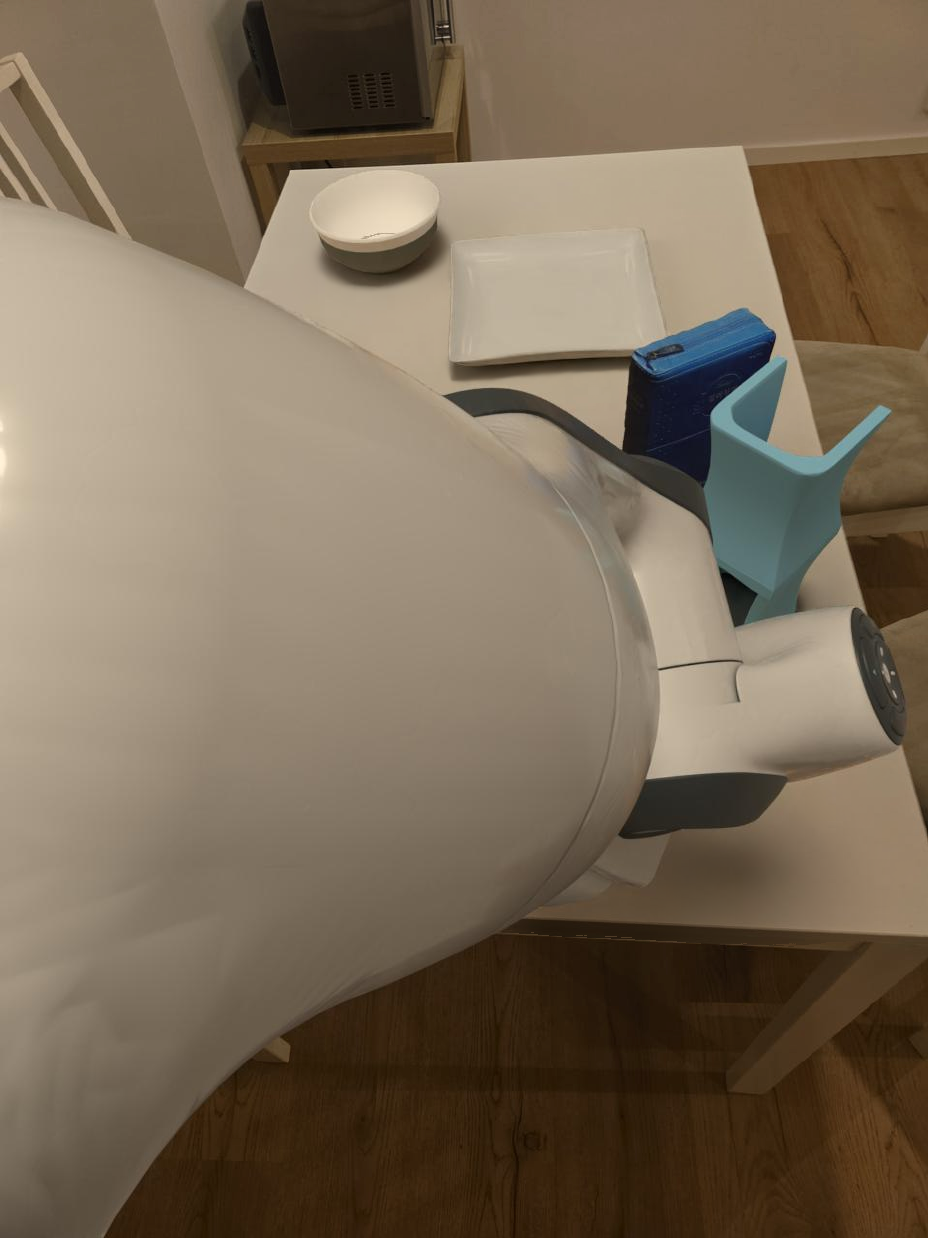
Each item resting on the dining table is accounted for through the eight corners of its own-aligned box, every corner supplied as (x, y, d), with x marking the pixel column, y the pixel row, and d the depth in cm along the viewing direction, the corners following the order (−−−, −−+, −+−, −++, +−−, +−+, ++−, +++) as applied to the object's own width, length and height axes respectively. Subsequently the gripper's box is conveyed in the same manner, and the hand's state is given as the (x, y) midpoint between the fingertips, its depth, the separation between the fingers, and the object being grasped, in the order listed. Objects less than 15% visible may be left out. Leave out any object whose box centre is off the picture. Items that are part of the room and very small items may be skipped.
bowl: (467, 234, 121) (463, 179, 115) (408, 306, 112) (400, 251, 106) (361, 213, 127) (351, 159, 120) (297, 280, 118) (282, 226, 112)
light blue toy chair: (803, 607, 79) (894, 409, 59) (742, 669, 76) (816, 483, 55) (720, 554, 84) (778, 353, 63) (659, 610, 80) (699, 417, 60)
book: (630, 530, 87) (650, 380, 70) (604, 498, 89) (617, 346, 73) (742, 482, 89) (787, 325, 73) (714, 452, 92) (751, 295, 76)
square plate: (668, 370, 100) (672, 344, 97) (449, 385, 102) (446, 359, 99) (642, 247, 116) (644, 221, 113) (452, 261, 118) (449, 236, 114)
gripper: (622, 577, 55) (490, 634, 65) (572, 873, 44) (422, 886, 54) (680, 624, 58) (545, 671, 68) (646, 913, 47) (491, 918, 57)
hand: (490, 769), depth 61 cm, fingers open, 8 cm apart
